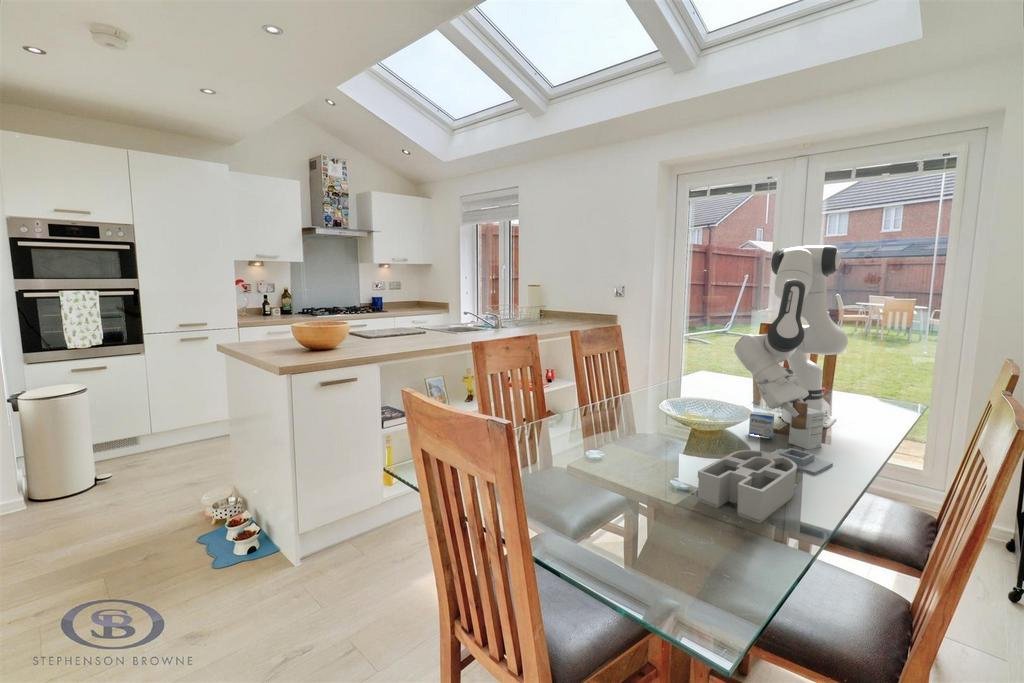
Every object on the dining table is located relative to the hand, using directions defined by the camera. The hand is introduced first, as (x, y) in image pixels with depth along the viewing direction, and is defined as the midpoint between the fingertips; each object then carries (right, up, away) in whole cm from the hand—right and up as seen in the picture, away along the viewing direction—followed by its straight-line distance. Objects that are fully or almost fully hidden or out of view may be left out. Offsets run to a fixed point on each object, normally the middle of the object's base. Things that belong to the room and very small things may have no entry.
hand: (801, 414), depth 153 cm
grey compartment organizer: (-25, -20, -20) cm, 38 cm away
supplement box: (+12, -14, +18) cm, 26 cm away
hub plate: (0, -16, +3) cm, 16 cm away
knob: (0, -4, +1) cm, 4 cm away
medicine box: (+1, -12, +28) cm, 31 cm away
